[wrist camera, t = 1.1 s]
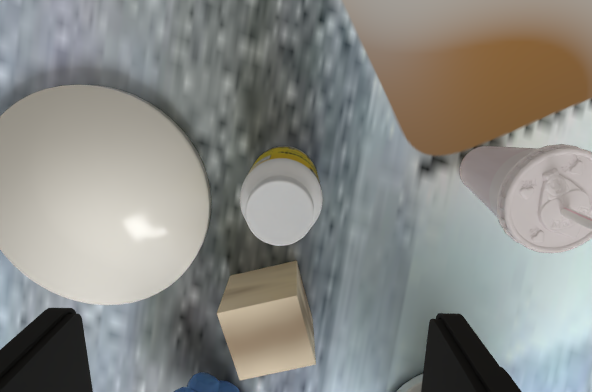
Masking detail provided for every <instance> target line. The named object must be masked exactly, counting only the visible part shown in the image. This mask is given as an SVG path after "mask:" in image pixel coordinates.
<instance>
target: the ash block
mask: <svg viewBox="0 0 592 392" xmlns="http://www.w3.org/2000/svg"><path fill="white" fill-rule="evenodd" d="M217 316H218V319H219V321H220V324H221V327H222V330H223V333H224V336H225V339H226V342H227V345H228V348H229V351H230V353H231V356H232V359H233V362H234V365H235V368H236V371H237V374H238V377H239V380H245V379H249V378H254V377H259V376H264V375H268V374H273V373H278V372H282V371H287V370H292V369H297V368H301V367H306V366H311V365H315V364H316V358H315V345H314V331H313V319H312V315H311V312H310V308H309V304H308V301H307V297H306V293H305V290H304V286H303V282H302V279H301V275H300V271H299V268H298V264H297V260H296V261H292V262H288V263H283V264H279V265H275V266H270V267H266V268H262V269H257V270H253V271H249V272H244V273H240V274H235V275H231V276H230V277H229V280H228V283H227V286H226V289H225V291H224V294H223V297H222V300H221V303H220V306H219V309H218V311H217Z"/></svg>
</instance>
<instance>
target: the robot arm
mask: <svg viewBox="0 0 592 392" xmlns="http://www.w3.org/2000/svg"><path fill="white" fill-rule="evenodd" d="M0 392H93V391H92V384H91V377H90V370H89V364H88V357H87V350H86V343H85V337H84V330H83V323H82V318H81V316H80V314H76V312H75V310H74V309H72V308H48V309H47V310H45V311H44V312H43V313H42V314H41V315H39V316H38V317H37V318H36V319H35V320H34V321H33V322H31V323H30V324H29V325H28V326H27V327H26V328H25V329H23V330H22V331H21V332H20V333H19V334H18V335H17V336H16V337H14V338H13V339H12V340H11V341H10V342H9V343H8V344H6V345H5V346H4V347H3V348H2V349H1V350H0ZM396 392H521V390H520V389H519V388H518V386H517V385H516V384H515V382H514V381H513V380H512V378H511V377H510V376H509V374H508V373H507V372H506V371H505V370H504V369H503V368H502V367H500V366H499V365H498V364H497V362H496V361H495V359H494V358H493V357H492V355H491V354H490V353H489V351H488V350H487V349H486V347H485V346H484V344H483V343H482V342H481V340H480V339H479V338H478V336H477V335H476V333H475V332H474V331H473V329H472V328H471V327H470V325H469V324H468V323H467V321H466V320H465V318H464V317H463V316H462V315H461V314H443V313H439V314H438V315H437V316H436V319H431V320H430V323H429V330H428V338H427V346H426V355H425V363H424V371H423V374H421V375H419V376H416V377H414V378H413V379H411V380H410V381H408V382H407V383H405V384H404V385H403V386H402V387H400V388H399V389H398V390H397V391H396Z"/></svg>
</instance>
